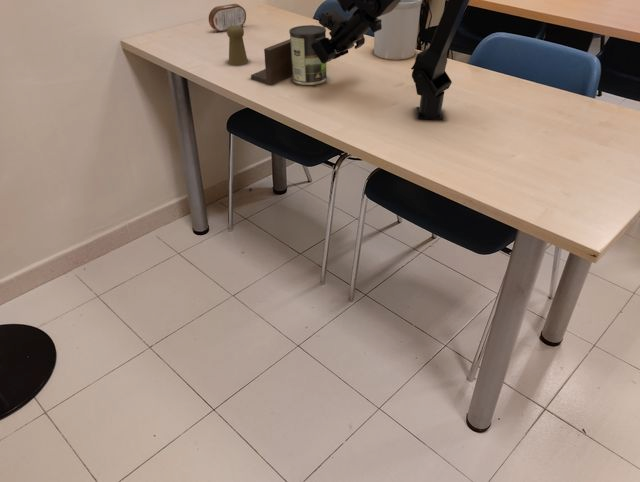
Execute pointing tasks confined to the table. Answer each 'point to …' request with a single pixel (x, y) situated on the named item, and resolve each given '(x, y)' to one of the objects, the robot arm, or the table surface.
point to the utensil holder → (398, 31)
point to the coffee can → (306, 55)
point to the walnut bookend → (276, 64)
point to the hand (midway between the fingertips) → (321, 60)
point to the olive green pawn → (236, 46)
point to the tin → (227, 17)
